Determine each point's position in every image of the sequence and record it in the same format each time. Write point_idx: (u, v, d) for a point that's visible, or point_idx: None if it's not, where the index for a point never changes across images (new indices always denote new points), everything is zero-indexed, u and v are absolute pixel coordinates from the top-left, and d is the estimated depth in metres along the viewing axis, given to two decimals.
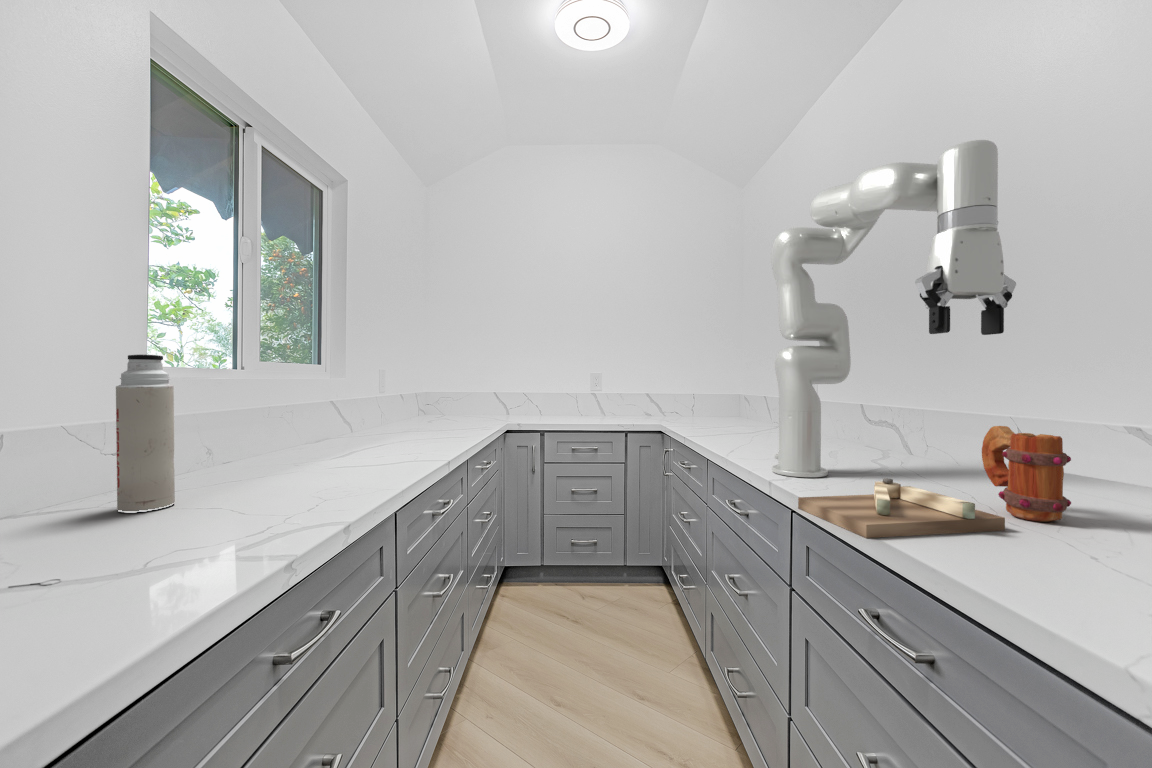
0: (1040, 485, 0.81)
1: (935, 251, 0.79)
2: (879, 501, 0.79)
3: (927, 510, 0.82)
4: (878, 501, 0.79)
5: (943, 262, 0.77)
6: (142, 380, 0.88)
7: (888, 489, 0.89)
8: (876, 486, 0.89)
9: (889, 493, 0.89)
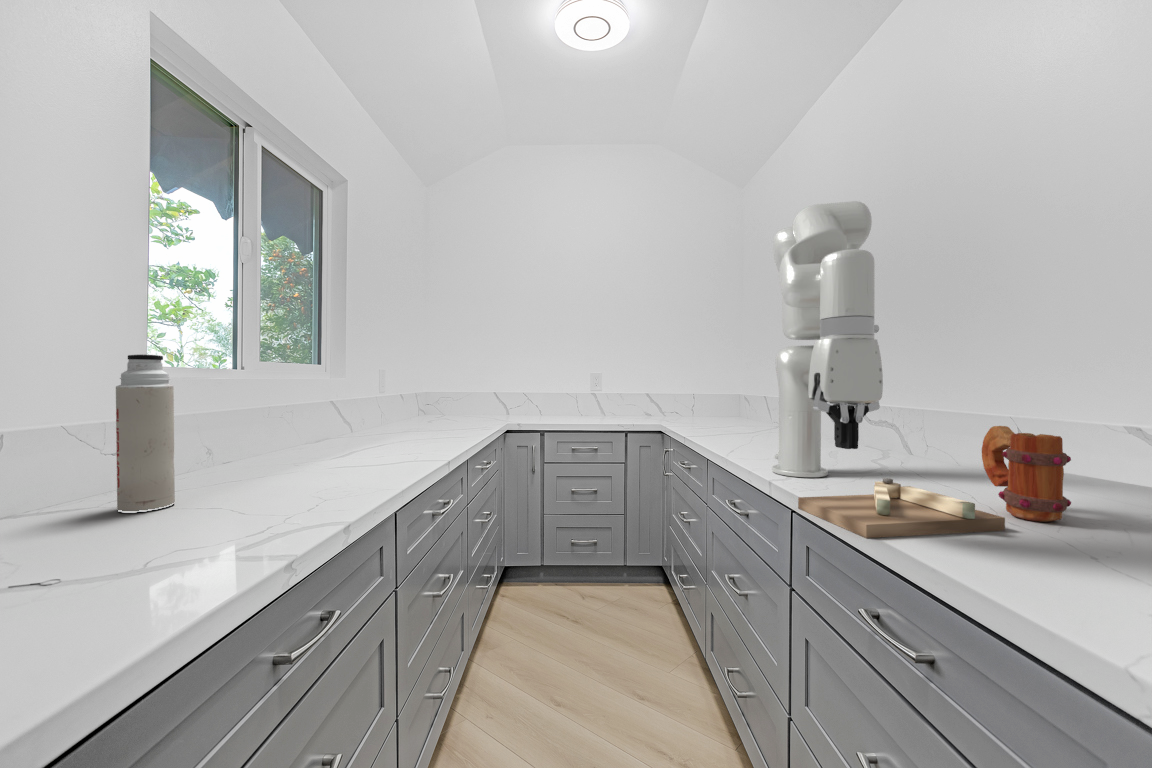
0: (1040, 485, 0.81)
1: (815, 357, 0.78)
2: (879, 501, 0.79)
3: (927, 510, 0.82)
4: (878, 501, 0.79)
5: (820, 370, 0.77)
6: (142, 380, 0.88)
7: (888, 489, 0.89)
8: (876, 486, 0.89)
9: (889, 493, 0.89)
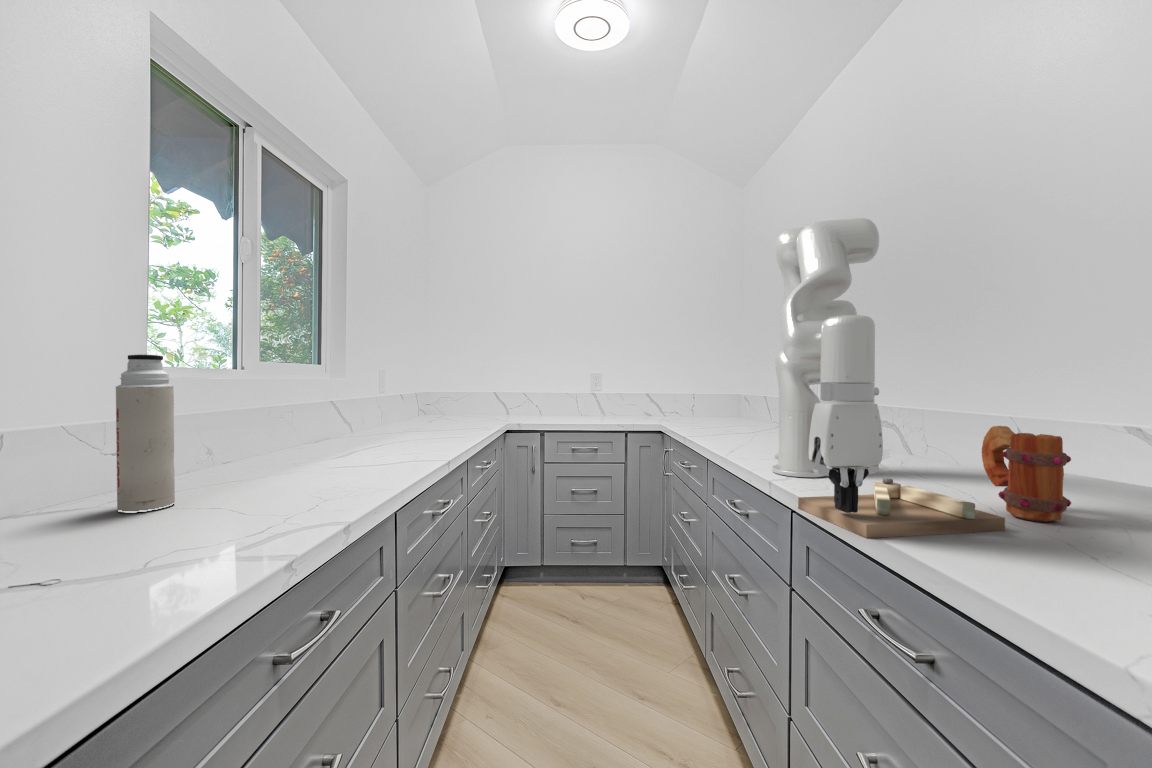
0: (1040, 485, 0.81)
1: (815, 420, 0.79)
2: (879, 501, 0.79)
3: (927, 510, 0.82)
4: (878, 501, 0.79)
5: (821, 435, 0.77)
6: (142, 380, 0.88)
7: (888, 489, 0.89)
8: (876, 486, 0.89)
9: (889, 493, 0.89)
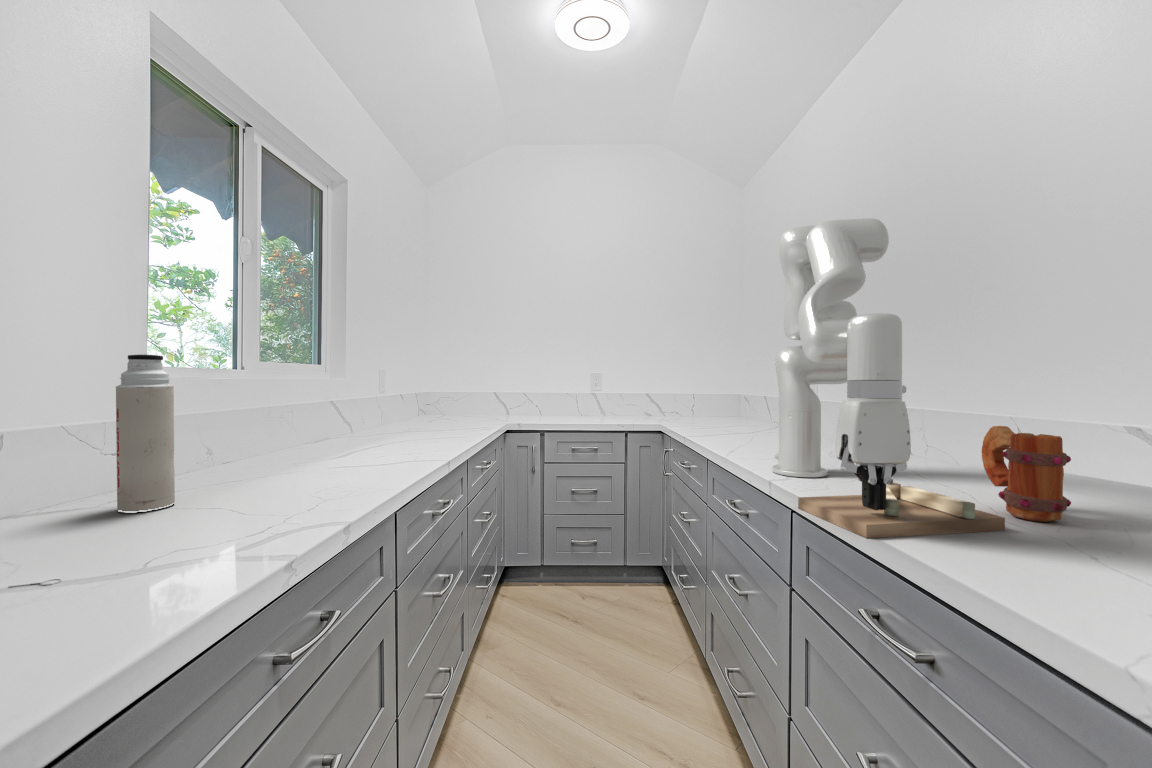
0: (1040, 485, 0.81)
1: (842, 418, 0.79)
2: (888, 502, 0.78)
3: (927, 510, 0.82)
4: (886, 502, 0.78)
5: (848, 432, 0.78)
6: (142, 380, 0.88)
7: None
8: None
9: None
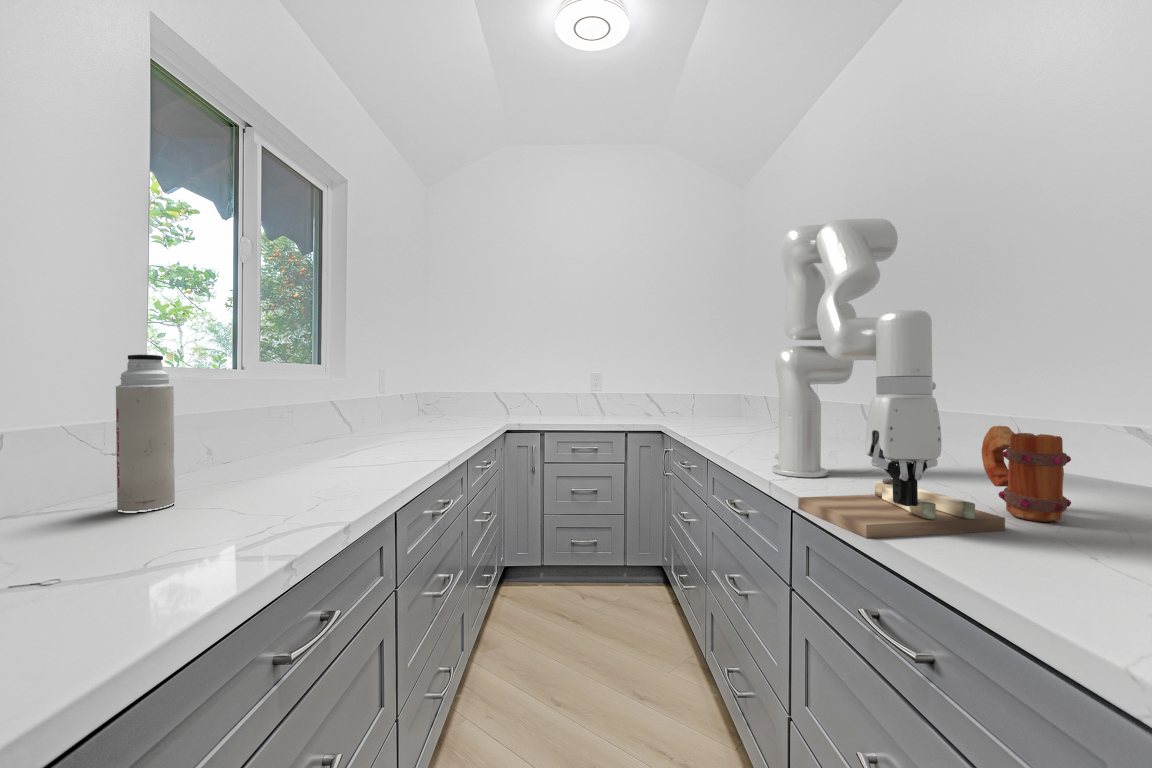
0: (1040, 485, 0.81)
1: (872, 414, 0.79)
2: (927, 505, 0.76)
3: None
4: (925, 505, 0.76)
5: (879, 428, 0.78)
6: (142, 380, 0.88)
7: None
8: (887, 488, 0.87)
9: None
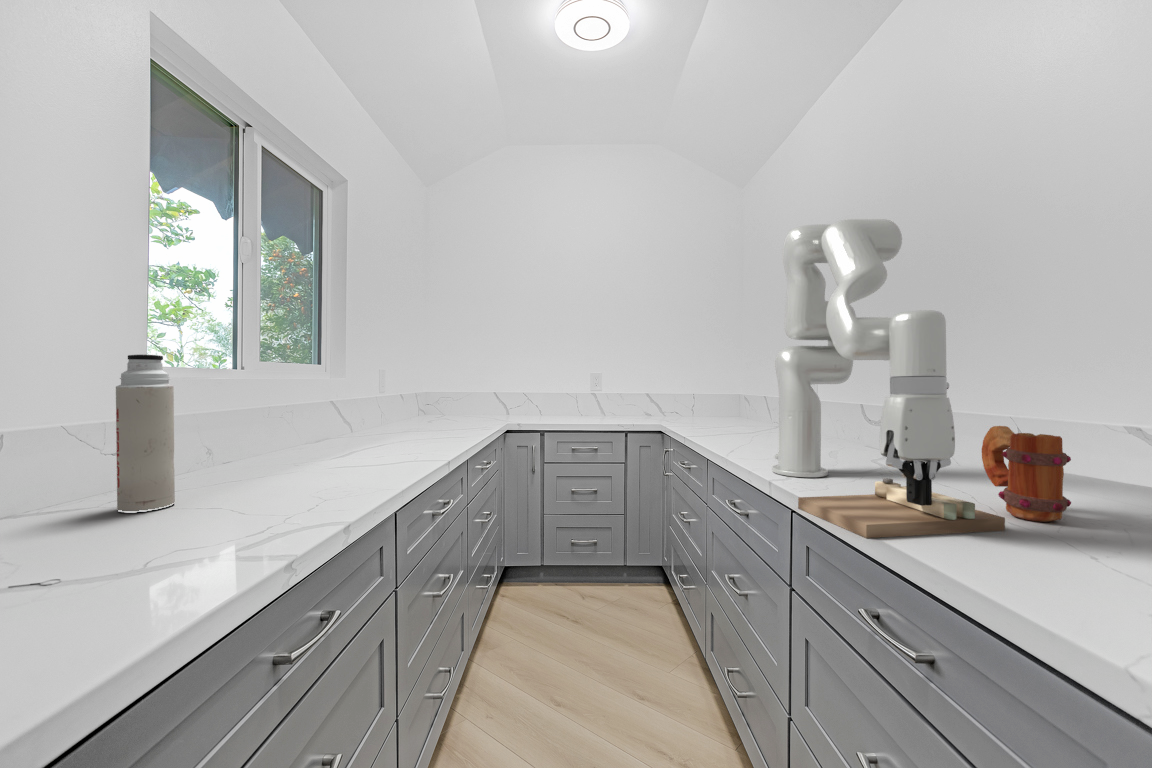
0: (1040, 485, 0.81)
1: (887, 414, 0.80)
2: (949, 506, 0.76)
3: None
4: (947, 506, 0.76)
5: (894, 428, 0.78)
6: (142, 380, 0.88)
7: None
8: (893, 488, 0.87)
9: None
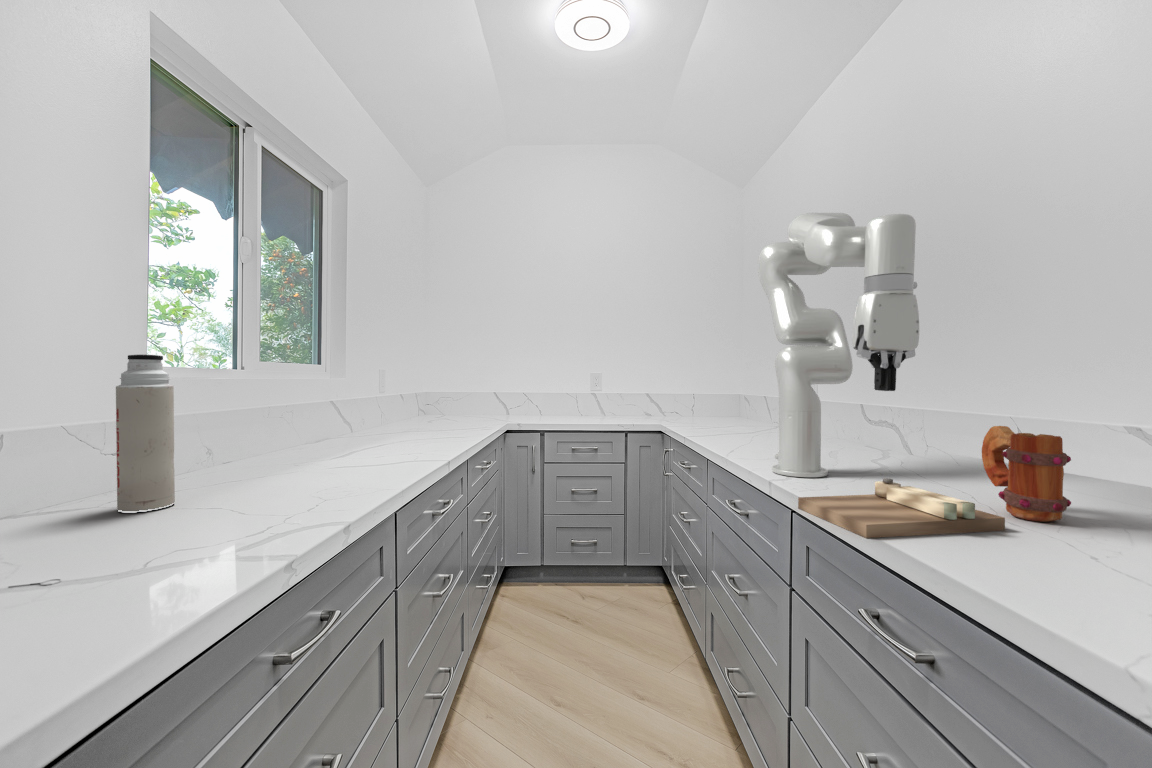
0: (1040, 485, 0.81)
1: (859, 311, 0.89)
2: (949, 506, 0.76)
3: None
4: (948, 506, 0.76)
5: (864, 322, 0.88)
6: (142, 380, 0.88)
7: None
8: (893, 488, 0.87)
9: None
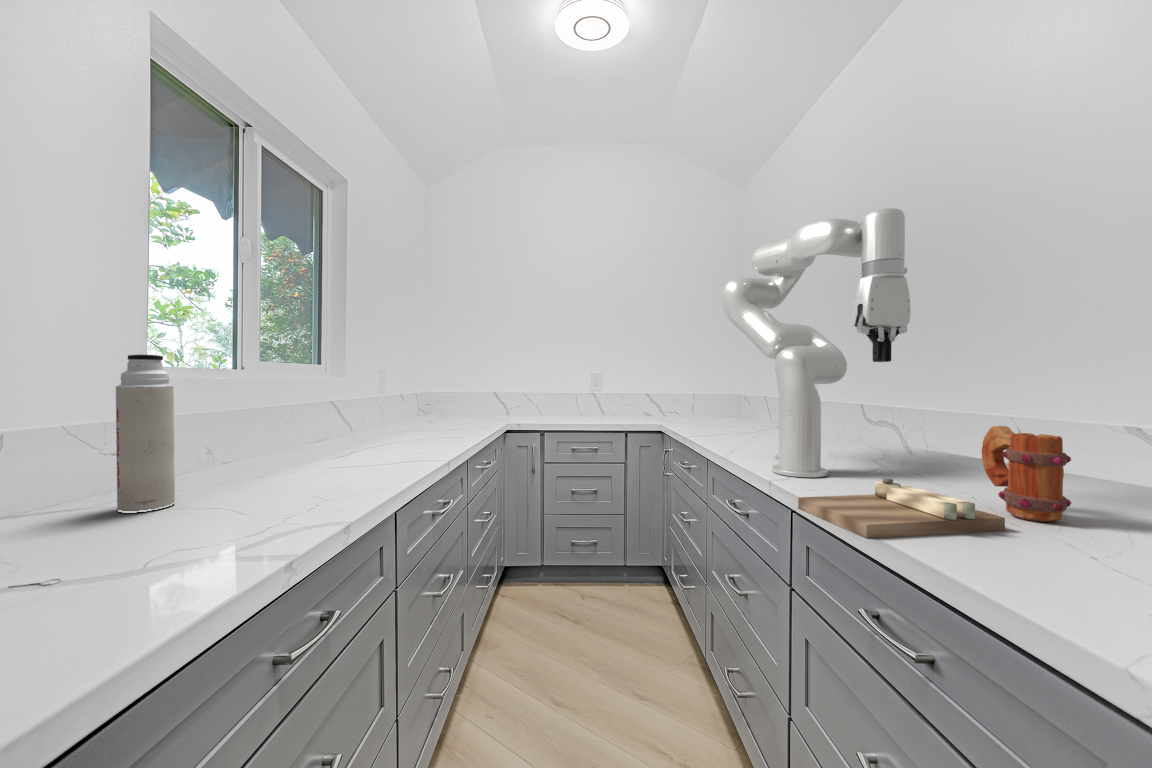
0: (1040, 485, 0.81)
1: (858, 292, 1.02)
2: (949, 506, 0.76)
3: None
4: (948, 506, 0.76)
5: (863, 301, 1.01)
6: (142, 380, 0.88)
7: None
8: (893, 488, 0.87)
9: None
